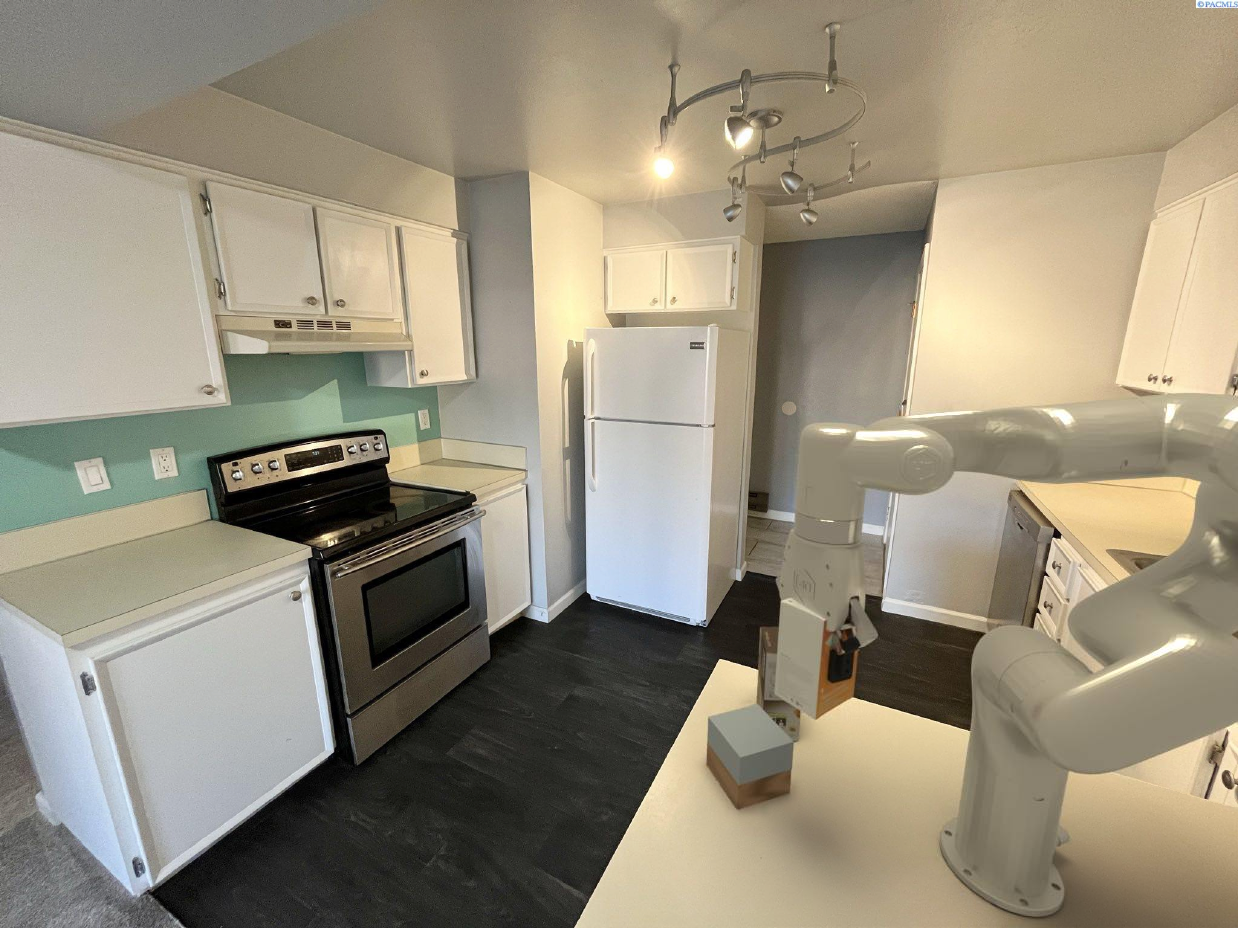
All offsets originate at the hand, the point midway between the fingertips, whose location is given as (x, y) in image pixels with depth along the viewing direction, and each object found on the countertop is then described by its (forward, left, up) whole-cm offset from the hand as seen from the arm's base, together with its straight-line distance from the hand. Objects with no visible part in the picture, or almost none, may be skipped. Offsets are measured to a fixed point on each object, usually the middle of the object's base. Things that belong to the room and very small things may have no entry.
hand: (816, 661), depth 65 cm
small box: (0, 0, -5) cm, 5 cm away
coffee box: (-10, -20, -26) cm, 34 cm away
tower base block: (+2, -11, -26) cm, 28 cm away
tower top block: (+2, -11, -22) cm, 24 cm away
